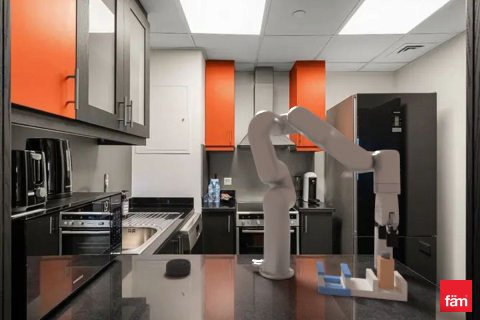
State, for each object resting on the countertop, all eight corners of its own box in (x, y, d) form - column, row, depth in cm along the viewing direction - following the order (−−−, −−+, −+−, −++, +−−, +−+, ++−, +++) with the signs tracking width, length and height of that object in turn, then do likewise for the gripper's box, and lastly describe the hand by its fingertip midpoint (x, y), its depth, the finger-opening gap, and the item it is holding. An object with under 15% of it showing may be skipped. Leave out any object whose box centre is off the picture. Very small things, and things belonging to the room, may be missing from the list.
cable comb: (317, 293, 93) (318, 272, 93) (316, 280, 104) (316, 261, 104) (408, 302, 88) (408, 280, 88) (396, 287, 98) (396, 267, 99)
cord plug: (380, 288, 93) (380, 253, 93) (377, 283, 97) (377, 250, 97) (394, 289, 92) (394, 254, 92) (390, 284, 96) (390, 251, 96)
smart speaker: (173, 267, 114) (173, 257, 114) (194, 270, 112) (194, 259, 112) (161, 275, 106) (161, 264, 106) (183, 278, 103) (184, 267, 103)
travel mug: (395, 273, 111) (396, 220, 111) (376, 272, 112) (377, 219, 113) (390, 268, 117) (391, 217, 118) (372, 266, 119) (373, 216, 119)
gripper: (368, 187, 104) (369, 236, 104) (381, 190, 87) (382, 249, 87) (391, 187, 103) (392, 237, 102) (409, 191, 86) (410, 251, 85)
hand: (387, 243), depth 94 cm, fingers open, 9 cm apart
